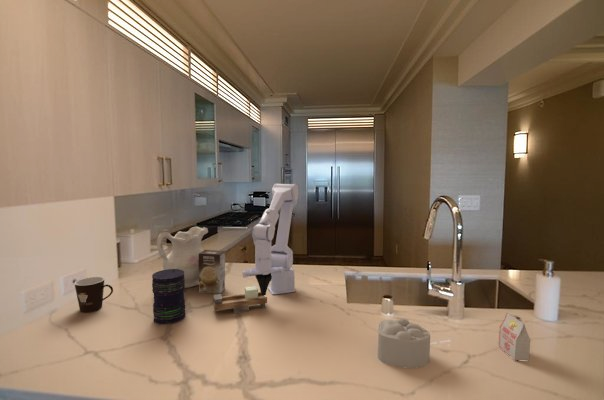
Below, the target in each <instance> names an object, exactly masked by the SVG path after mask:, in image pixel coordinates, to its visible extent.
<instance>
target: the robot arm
mask: <svg viewBox="0 0 604 400" xmlns="http://www.w3.org/2000/svg"><path fill="white" fill-rule="evenodd" d="M271 193H272V194H271V195H272V200H271V201H270V204H269V208H266V209H265V210H264V211H263V213H262V216H261V218H260V220H259V222H258V223H257V224H255V225H254V226H253V228H252V232H251V236H252V239H253V245H254V247H255V248H254V249H255V251H254V253H255V255H254V259H255V261H254V263H255V266H254V268H250V269H245V270H242V277H243V278H248V277H255V278H256V281H257V283H258V287H259V290H260V291H259V292H261V295H264V296H266V295H267V290H269V292H270V293H271V294H272V295H282V294H286V293H295V292H296V290H295V286H296V285H295V282H296V281H295V279H296V278H295V271H294V269H293V268H292V267H293V263H294V257H293V256H294V252H293V250H292V248H290V246H288V244H289V236H290V229H291V222H292V216H293V210H294V207H295V206H297V203H298V200H299V199H298V198H299V186H298V185H297V184H296V183H274V184H273V186H272V189H271ZM279 211H280V213H279ZM278 219H279V220H278ZM277 222H278V227H277V233H276V239H275V244H274V245H272V241H273V239H274V236H275V231H276V225H277ZM269 285H270V286H269Z"/></svg>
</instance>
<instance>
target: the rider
mask: <svg viewBox="0 0 604 400" xmlns="http://www.w3.org/2000/svg"><path fill="white" fill-rule="evenodd" d="M258 292H259V288H258V287H257V285H252V286H245V287H244V294H245V298H246V300H247V299H254V298H258Z"/></svg>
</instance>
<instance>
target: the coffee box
mask: <svg viewBox="0 0 604 400" xmlns="http://www.w3.org/2000/svg"><path fill="white" fill-rule="evenodd" d="M202 250H203V251H202V252H200V253H199V285H198V293H203V294H214V295H217V294H221V293H222V292H224V290H225V288H226V251H225V250H216V249H214V250H213V249H202Z"/></svg>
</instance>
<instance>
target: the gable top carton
mask: <svg viewBox="0 0 604 400" xmlns="http://www.w3.org/2000/svg"><path fill="white" fill-rule="evenodd" d="M498 333H499V334H498V346H499V347H500V348H501V349H503V350H504V351H505V352H506V353H507V354H508V355H509V356H511V357H512V358H513V359H514V360H529V361H530V347H531V338H530V336H529V333H528V331H527V327H526V324H525V323H523V322H522V321H520V320H519V319H517V318H516V317H514V316H513V315H512V314H511V313H509V312H506V313H505V317H504V319H503V320H502V322H501V323H500V326H499V331H498ZM499 347H498V348H499ZM501 349H500V350H501ZM503 350H502V351H503ZM504 351H503V352H504ZM505 352H504V353H505ZM506 353H505V354H506ZM507 354H506V355H507ZM508 355H507V356H508ZM509 356H508V357H509ZM513 359H512V360H513ZM514 360H513V361H514Z"/></svg>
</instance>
